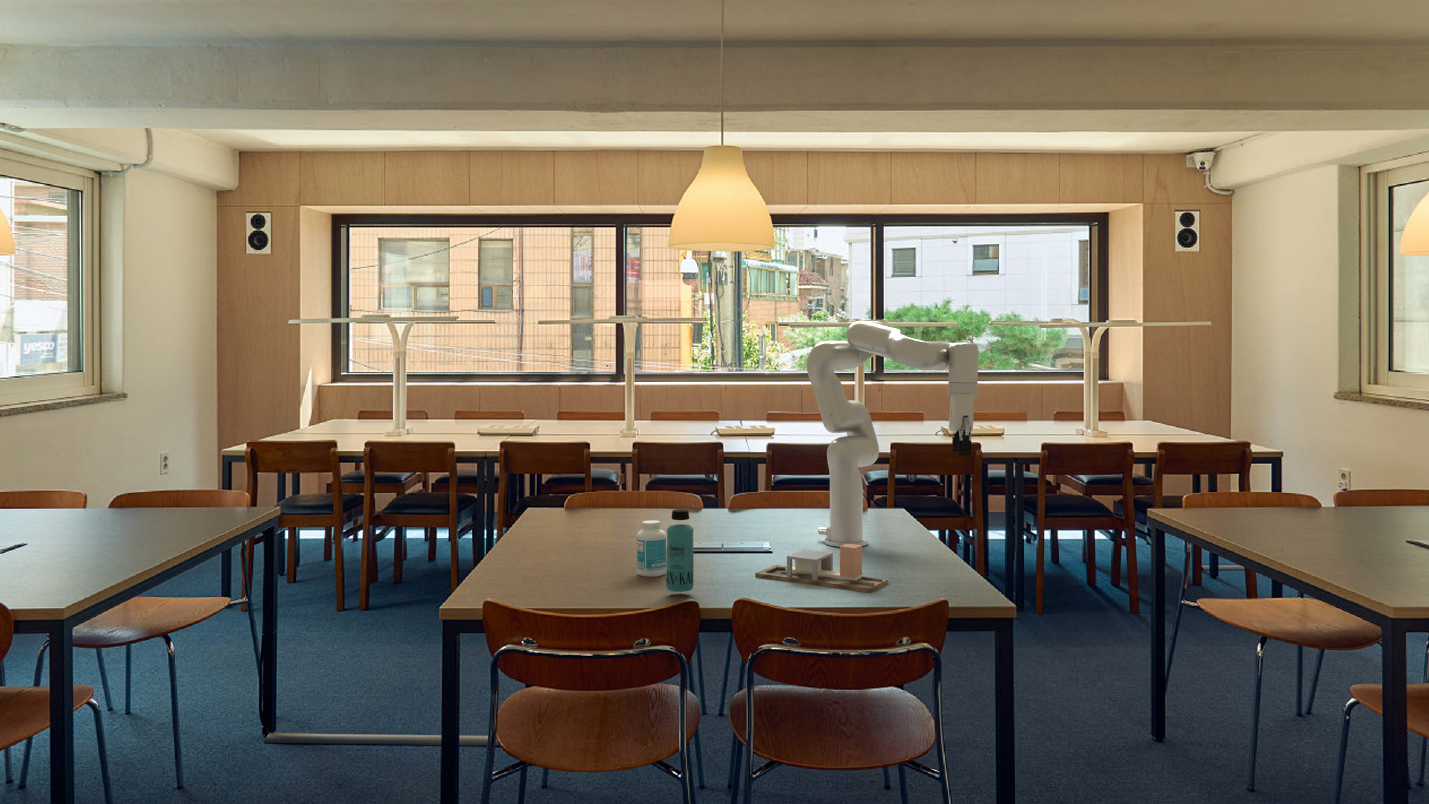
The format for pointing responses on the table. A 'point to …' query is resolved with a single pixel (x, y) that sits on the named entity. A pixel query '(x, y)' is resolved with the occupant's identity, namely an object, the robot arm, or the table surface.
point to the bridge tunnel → (814, 558)
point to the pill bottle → (651, 550)
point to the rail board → (823, 580)
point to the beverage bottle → (680, 554)
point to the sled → (848, 564)
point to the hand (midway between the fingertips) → (961, 453)
